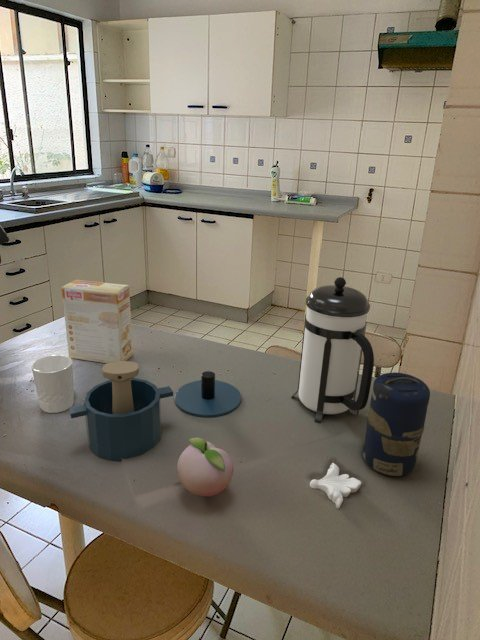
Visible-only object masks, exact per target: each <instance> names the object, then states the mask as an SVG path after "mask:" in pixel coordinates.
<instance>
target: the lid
mask: <svg viewBox="0 0 480 640" xmlns="http://www.w3.org/2000/svg"><path fill="white" fill-rule="evenodd" d="M241 402H242V395H241V392H240V390H239V389H237V387H235V386H234V385H232V384H230V383H228V382H225V381H222V380H216V373H215V372H213V371H210V370H206V371H202V372H201V377H200V379H199V380H195V381H191V382H188V383H185V384H183V385H182V386H180V387H179V388H178V389H177V390H176V391H175V393H174V404H175V406H176V407H177V408H178V409H179V410H180V411H181V412H183V413H185V414H188V415H189V416H194V417H199V418H216V417H221V416H225V415H228V414H230V413H233V412H234V411H235V410H236V409H238V407H239V406H240V405H241Z"/></svg>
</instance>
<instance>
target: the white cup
mask: <svg viewBox="0 0 480 640" xmlns="http://www.w3.org/2000/svg"><path fill="white" fill-rule="evenodd" d="M73 363H74V362H73V358H69V356H67V355H61V354H52V355H47V356H43V357H40V358H38V359H36V360H35V361H34V362H32V364H31V371H32V376H33V381H34V386H35V391H36V394H37V397H38V401H39V402H38V403H39V406H40V409H41V410H42V411H43V412H45V413H48V414H59V413H63V412H65V411H67V410H69V407H72V406H74V405H75V397H74V391H75V388H74V387H75V383H74V367H73Z"/></svg>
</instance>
